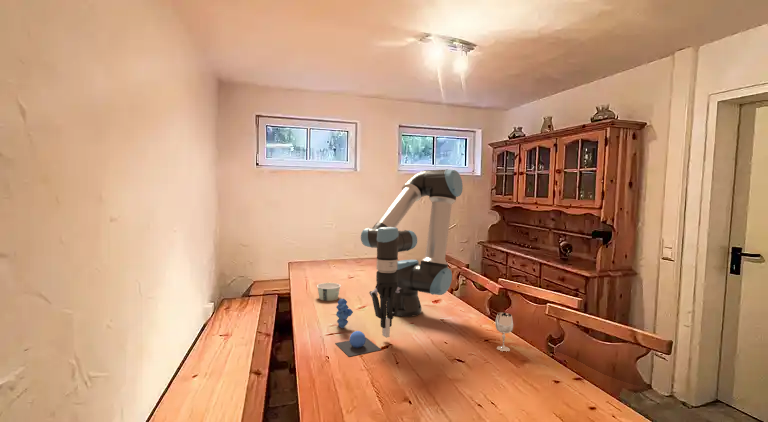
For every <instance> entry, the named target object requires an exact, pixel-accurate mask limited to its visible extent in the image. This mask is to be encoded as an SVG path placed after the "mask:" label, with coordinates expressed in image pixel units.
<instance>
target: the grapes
mask: <svg viewBox="0 0 768 422" xmlns="http://www.w3.org/2000/svg"><path fill="white" fill-rule="evenodd" d="M336 310H337V311H336V314H335V316H336V317H337V318H338V319H337V321H336V323H337V324H338V327H340V328H341V329H344V328H345V327H346V326H347V325H348V324H349V321H348V318H349V317H351V316H352V315H353V312H354V311H353V310H352V309H351V308H349V305H348V301H347V300H346V299H345V298H339V300H338V301H337V305H336Z"/></svg>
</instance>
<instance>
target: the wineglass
mask: <svg viewBox="0 0 768 422" xmlns="http://www.w3.org/2000/svg"><path fill="white" fill-rule="evenodd" d="M513 327H514V321H513V315H512V314H510V313H509V312H508V313H507V312H498V313H497V315H496V317H495V329H496V331H498V332H499V333H501V334H502V335H501V337H502V345H498V346H497V347H496V350H498V351H499V350H500V352H503V351H506V352H507V351H508V352H510V351H511V349H510V348H509V347H508V346H506V345H505V338H506V334H509V333H511V332H512V331H513ZM506 352H505V353H506Z"/></svg>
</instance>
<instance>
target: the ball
mask: <svg viewBox="0 0 768 422" xmlns="http://www.w3.org/2000/svg"><path fill="white" fill-rule="evenodd" d="M365 337H366V335H365V334H364V333H363V332H362V330H361V331H360V330H356V331H353V332H352V333H351V334H350V336H349V340H350V344H351V345H352V346H353V347H355V348H360V347H362V346H363V345H364V344H365V341H366V338H367V337H366V338H365Z"/></svg>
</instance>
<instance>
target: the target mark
mask: <svg viewBox="0 0 768 422" xmlns="http://www.w3.org/2000/svg"><path fill="white" fill-rule="evenodd" d="M365 338H366V341H365V344H364V345H363V346H362V347H360V348H355V347H353V346H352V345H351V344H350V339H349V340H344V341H339V342H335V343H334V344H335V345H336V346H337V347H338V348H339V349H340V350H341V351H342V352H343V353H344V354H345V355H346V356H347V357H348V358H350V357H355V356H359V355H360V356H361V355H365V354H369V353H374V352H378V351H382V348H380V347H379V346H378V345H377V344H375V343H374V342H373V341H371V340H370V339H369V338H368V337H366V336H365Z"/></svg>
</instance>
